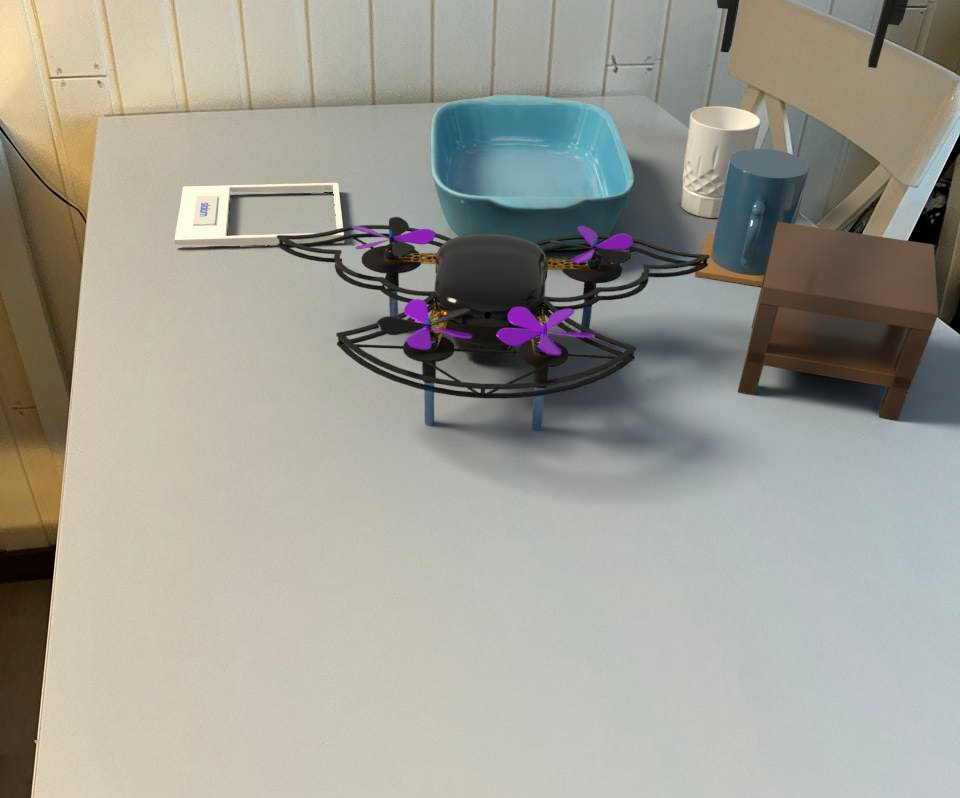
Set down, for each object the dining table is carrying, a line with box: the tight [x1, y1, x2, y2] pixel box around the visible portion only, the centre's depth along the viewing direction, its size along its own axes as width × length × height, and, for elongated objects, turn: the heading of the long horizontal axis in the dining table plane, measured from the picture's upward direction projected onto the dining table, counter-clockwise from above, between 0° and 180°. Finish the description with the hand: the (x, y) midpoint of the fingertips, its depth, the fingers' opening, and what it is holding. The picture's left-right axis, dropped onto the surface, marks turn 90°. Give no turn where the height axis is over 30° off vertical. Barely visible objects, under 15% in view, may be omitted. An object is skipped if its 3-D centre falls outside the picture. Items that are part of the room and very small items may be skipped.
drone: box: [277, 216, 710, 432], centre depth 86 cm, size 40×10×28 cm
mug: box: [711, 148, 810, 275], centre depth 103 cm, size 8×11×10 cm
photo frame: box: [174, 182, 345, 247], centre depth 112 cm, size 15×1×18 cm
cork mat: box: [694, 233, 764, 288], centre depth 108 cm, size 10×10×1 cm
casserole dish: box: [430, 94, 635, 251], centre depth 115 cm, size 37×22×7 cm, turn 2°
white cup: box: [680, 105, 762, 219], centre depth 115 cm, size 8×8×10 cm
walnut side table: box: [737, 222, 939, 421], centre depth 89 cm, size 14×14×10 cm
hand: (798, 56), depth 93 cm, fingers open, 13 cm apart
